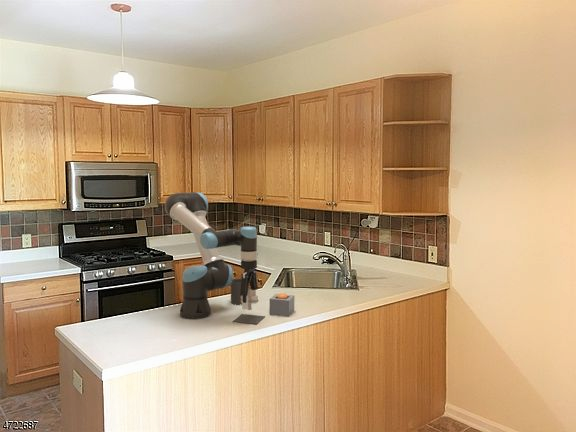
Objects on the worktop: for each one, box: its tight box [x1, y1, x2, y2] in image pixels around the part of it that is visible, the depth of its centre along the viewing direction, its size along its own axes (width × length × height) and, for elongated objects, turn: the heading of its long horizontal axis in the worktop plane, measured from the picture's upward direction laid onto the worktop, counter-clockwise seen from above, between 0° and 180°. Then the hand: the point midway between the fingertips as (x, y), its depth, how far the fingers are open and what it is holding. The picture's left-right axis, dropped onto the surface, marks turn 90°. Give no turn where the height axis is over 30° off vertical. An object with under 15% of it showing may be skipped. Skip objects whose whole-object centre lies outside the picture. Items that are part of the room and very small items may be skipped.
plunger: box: [276, 293, 288, 299], centre depth 244 cm, size 5×5×2 cm
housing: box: [269, 293, 296, 317], centre depth 245 cm, size 10×10×8 cm
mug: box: [230, 278, 252, 306], centre depth 264 cm, size 14×9×12 cm
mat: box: [232, 313, 266, 326], centre depth 234 cm, size 12×12×1 cm
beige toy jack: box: [241, 287, 259, 311], centre depth 233 cm, size 10×10×10 cm
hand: (249, 306), depth 233 cm, fingers closed on beige toy jack, 10 cm apart
